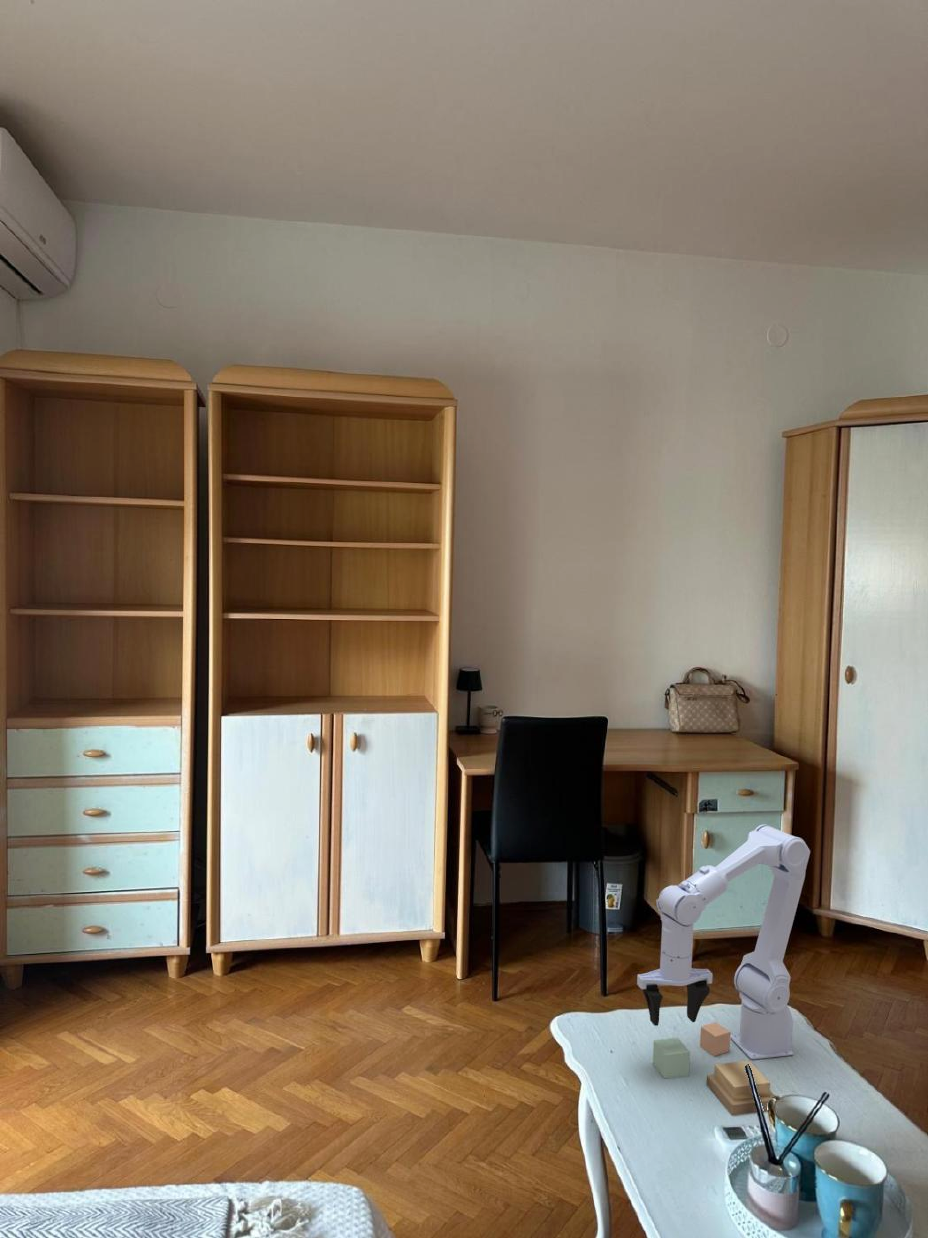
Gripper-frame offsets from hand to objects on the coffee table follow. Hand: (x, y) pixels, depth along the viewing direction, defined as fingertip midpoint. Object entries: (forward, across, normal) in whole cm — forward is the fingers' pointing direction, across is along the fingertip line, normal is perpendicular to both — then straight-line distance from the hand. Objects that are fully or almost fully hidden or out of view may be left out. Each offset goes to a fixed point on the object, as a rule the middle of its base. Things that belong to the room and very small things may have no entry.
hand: (672, 1021), depth 163 cm
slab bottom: (+10, -9, +10) cm, 17 cm away
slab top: (+8, -9, +10) cm, 15 cm away
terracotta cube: (+10, -12, -5) cm, 16 cm away
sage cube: (+10, 0, 0) cm, 10 cm away
